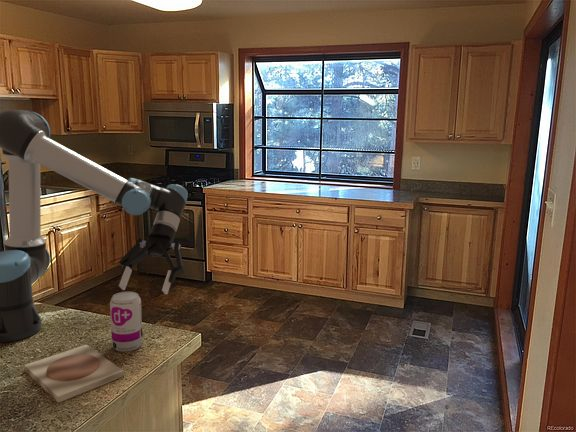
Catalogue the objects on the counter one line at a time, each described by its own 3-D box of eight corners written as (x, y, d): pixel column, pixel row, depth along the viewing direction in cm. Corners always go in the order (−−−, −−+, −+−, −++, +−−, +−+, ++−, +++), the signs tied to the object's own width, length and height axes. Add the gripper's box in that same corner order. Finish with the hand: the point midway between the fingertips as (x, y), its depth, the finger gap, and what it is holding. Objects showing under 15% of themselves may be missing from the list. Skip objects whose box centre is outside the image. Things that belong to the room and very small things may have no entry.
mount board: (24, 370, 121) (24, 362, 121) (86, 349, 133) (86, 342, 133) (58, 402, 108) (57, 394, 108) (123, 376, 120) (123, 368, 119)
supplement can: (133, 354, 131) (131, 302, 128) (106, 350, 133) (103, 299, 130) (147, 341, 139) (146, 292, 136) (121, 338, 140) (119, 289, 137)
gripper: (205, 237, 152) (186, 299, 141) (133, 232, 157) (109, 291, 145) (198, 225, 146) (178, 288, 134) (123, 219, 151) (98, 280, 139)
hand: (142, 290), depth 140 cm, fingers open, 13 cm apart
